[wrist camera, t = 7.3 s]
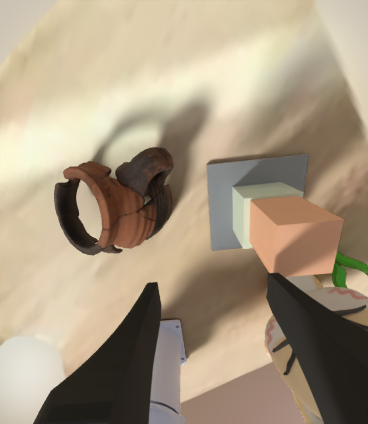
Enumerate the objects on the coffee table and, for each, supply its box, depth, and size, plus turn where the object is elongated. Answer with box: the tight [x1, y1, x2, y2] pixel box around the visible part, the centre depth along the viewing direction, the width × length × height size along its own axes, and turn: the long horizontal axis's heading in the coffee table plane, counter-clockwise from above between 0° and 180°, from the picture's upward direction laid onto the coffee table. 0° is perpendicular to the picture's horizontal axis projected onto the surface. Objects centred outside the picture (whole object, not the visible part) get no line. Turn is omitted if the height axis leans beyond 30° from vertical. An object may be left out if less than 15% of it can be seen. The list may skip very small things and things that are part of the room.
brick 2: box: [249, 196, 344, 277], centre depth 15 cm, size 4×4×5 cm
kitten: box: [264, 251, 368, 424], centre depth 18 cm, size 15×10×15 cm
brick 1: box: [232, 182, 304, 249], centre depth 19 cm, size 5×5×4 cm
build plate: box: [206, 154, 309, 251], centre depth 21 cm, size 10×10×1 cm
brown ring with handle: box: [54, 147, 173, 255], centre depth 18 cm, size 12×9×8 cm
